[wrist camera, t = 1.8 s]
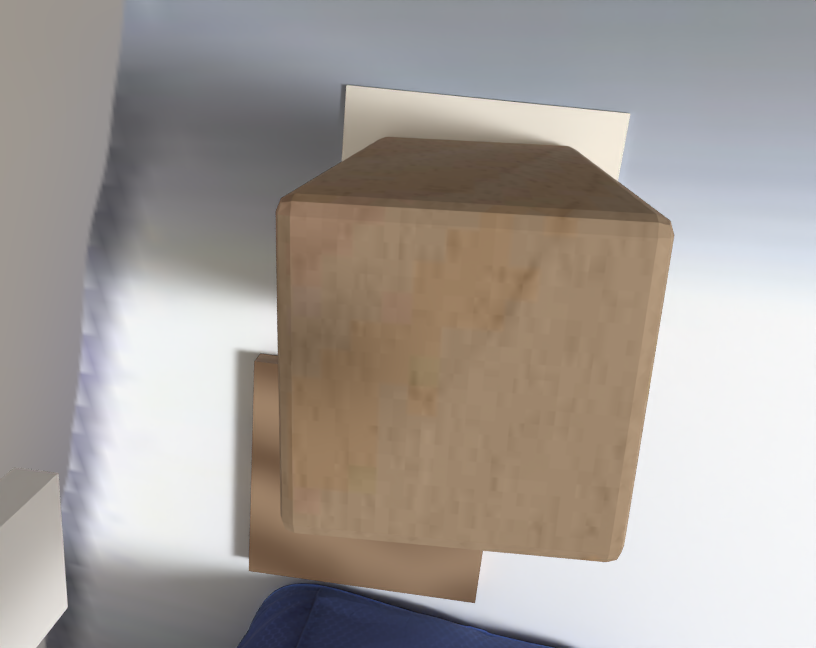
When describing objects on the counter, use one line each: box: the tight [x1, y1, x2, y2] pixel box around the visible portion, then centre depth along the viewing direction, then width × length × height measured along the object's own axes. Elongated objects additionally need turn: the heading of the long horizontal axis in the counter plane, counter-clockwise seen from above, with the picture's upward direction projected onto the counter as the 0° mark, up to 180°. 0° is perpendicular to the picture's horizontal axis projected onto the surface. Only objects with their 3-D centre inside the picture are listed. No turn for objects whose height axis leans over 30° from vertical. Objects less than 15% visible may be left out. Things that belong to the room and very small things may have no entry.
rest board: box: [249, 354, 483, 603], centre depth 43 cm, size 14×14×1 cm
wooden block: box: [276, 137, 674, 562], centre depth 29 cm, size 10×10×20 cm
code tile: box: [342, 85, 630, 181], centre depth 38 cm, size 14×14×1 cm
